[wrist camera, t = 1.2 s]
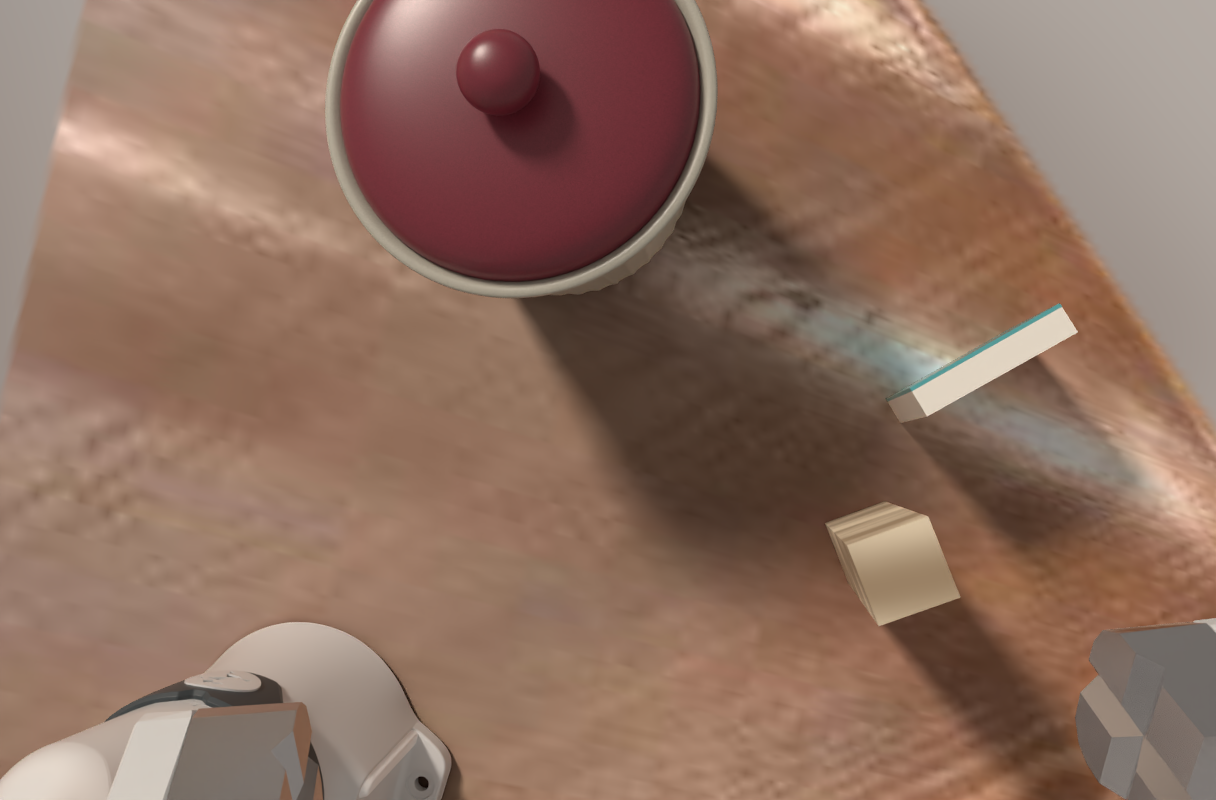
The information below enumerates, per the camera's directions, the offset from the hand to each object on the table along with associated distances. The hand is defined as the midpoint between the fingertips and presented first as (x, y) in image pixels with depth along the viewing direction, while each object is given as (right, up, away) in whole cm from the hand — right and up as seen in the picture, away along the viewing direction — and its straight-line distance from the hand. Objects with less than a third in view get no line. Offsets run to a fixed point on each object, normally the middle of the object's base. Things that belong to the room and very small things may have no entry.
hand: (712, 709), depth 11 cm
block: (+14, -5, +51) cm, 53 cm away
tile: (+18, +5, +50) cm, 54 cm away
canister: (-3, +16, +54) cm, 57 cm away
